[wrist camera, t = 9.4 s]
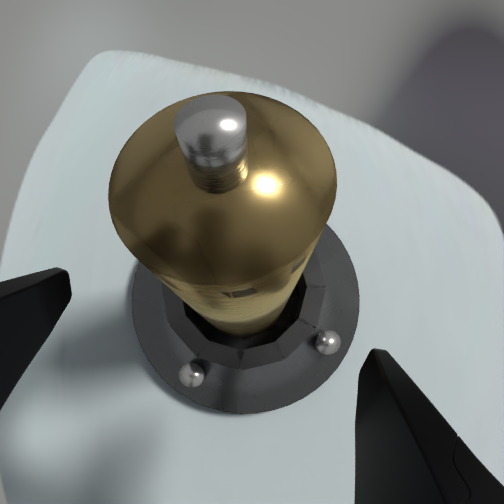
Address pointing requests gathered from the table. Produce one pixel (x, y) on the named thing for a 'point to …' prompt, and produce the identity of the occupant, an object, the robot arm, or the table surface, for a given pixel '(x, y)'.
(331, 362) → the grey flange
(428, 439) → the robot arm
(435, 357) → the table surface
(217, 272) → the brass pepper mill
